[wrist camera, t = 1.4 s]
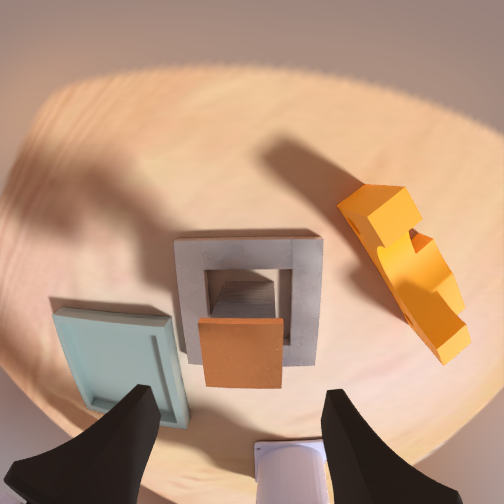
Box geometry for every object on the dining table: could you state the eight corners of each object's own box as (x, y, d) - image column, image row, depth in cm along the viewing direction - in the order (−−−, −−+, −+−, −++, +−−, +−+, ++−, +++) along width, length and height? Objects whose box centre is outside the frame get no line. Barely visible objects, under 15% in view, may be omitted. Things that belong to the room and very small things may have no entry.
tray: (191, 417, 24) (187, 429, 22) (94, 399, 25) (87, 408, 23) (171, 316, 21) (164, 327, 20) (62, 306, 22) (51, 314, 20)
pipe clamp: (445, 292, 20) (488, 325, 14) (408, 323, 21) (443, 365, 15) (381, 170, 18) (427, 168, 12) (335, 205, 19) (367, 216, 13)
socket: (313, 358, 22) (314, 365, 21) (191, 357, 22) (188, 363, 21) (320, 236, 19) (323, 239, 18) (177, 238, 20) (173, 241, 19)
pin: (278, 328, 21) (281, 388, 14) (223, 328, 21) (206, 386, 15) (278, 276, 20) (283, 323, 13) (219, 277, 20) (197, 322, 14)
